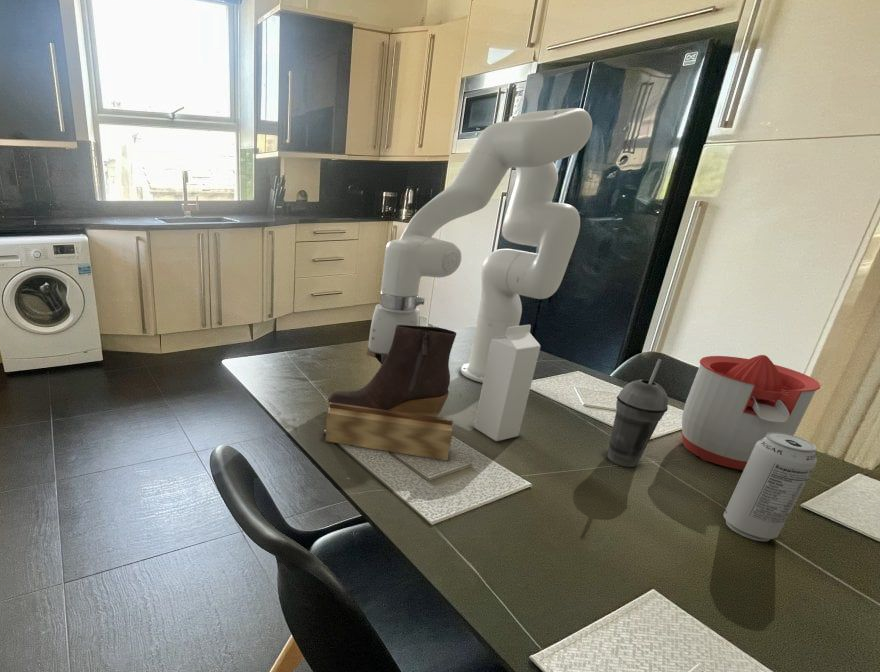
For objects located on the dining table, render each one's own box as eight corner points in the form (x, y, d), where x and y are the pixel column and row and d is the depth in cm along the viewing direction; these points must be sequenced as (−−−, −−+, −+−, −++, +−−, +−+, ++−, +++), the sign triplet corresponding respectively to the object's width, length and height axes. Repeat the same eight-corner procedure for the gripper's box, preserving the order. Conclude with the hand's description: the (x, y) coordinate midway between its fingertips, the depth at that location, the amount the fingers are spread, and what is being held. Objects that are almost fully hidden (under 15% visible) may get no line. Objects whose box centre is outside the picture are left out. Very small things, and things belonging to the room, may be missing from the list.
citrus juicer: (689, 471, 85) (732, 366, 78) (658, 427, 100) (692, 335, 93) (803, 493, 80) (861, 383, 72) (753, 443, 95) (797, 347, 87)
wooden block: (446, 452, 89) (452, 419, 86) (447, 460, 86) (453, 427, 84) (327, 433, 94) (330, 402, 91) (325, 441, 91) (327, 408, 88)
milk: (518, 436, 95) (546, 329, 87) (495, 442, 93) (521, 332, 84) (494, 422, 100) (518, 319, 92) (472, 427, 98) (494, 322, 89)
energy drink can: (757, 520, 73) (800, 433, 68) (786, 547, 68) (835, 455, 62) (712, 513, 74) (750, 427, 69) (736, 539, 69) (780, 448, 63)
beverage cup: (638, 453, 90) (674, 353, 83) (652, 474, 84) (692, 367, 76) (594, 446, 92) (625, 347, 85) (604, 466, 86) (639, 361, 78)
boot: (326, 402, 106) (332, 314, 99) (438, 410, 104) (453, 321, 97) (325, 421, 98) (333, 326, 91) (447, 430, 96) (464, 334, 89)
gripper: (435, 300, 102) (422, 380, 109) (363, 294, 105) (356, 372, 112) (436, 309, 95) (422, 394, 102) (360, 302, 99) (352, 384, 106)
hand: (387, 382), depth 107 cm, fingers closed
